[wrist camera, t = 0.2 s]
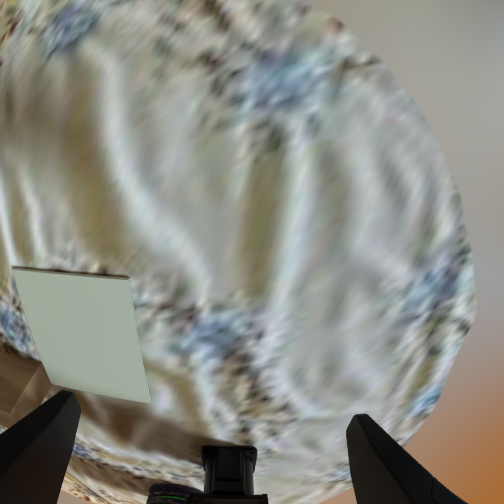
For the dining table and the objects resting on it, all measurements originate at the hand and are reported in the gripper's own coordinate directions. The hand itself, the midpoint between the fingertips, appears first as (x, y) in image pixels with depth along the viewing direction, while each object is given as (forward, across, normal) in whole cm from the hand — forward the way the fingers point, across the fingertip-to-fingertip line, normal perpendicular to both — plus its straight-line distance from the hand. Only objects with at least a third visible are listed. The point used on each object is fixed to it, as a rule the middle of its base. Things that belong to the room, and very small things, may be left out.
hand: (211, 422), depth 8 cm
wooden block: (+15, +23, +17) cm, 32 cm away
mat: (+14, +13, +10) cm, 22 cm away
